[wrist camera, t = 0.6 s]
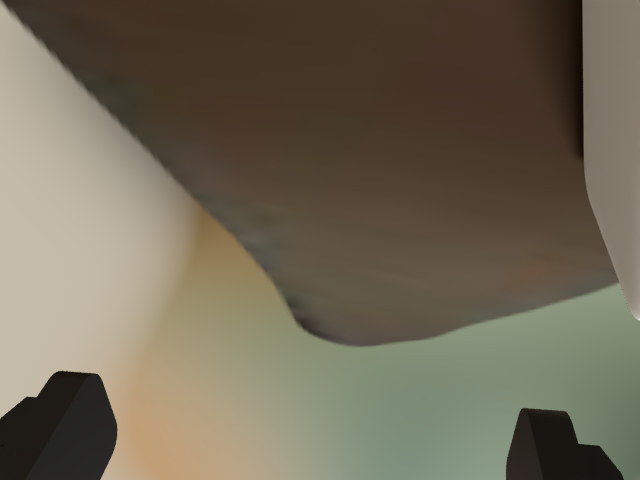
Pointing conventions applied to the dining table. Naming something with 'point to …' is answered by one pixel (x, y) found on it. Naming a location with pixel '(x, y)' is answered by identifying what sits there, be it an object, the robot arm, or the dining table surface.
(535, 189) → the dining table surface
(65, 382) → the robot arm
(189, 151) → the dining table surface
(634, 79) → the cable organizer
